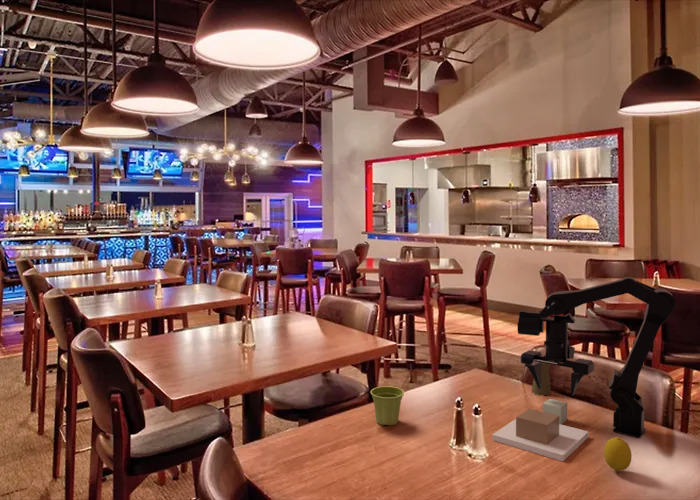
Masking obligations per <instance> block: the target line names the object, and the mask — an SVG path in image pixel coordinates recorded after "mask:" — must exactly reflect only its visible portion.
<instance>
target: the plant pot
mask: <svg viewBox="0 0 700 500" xmlns="http://www.w3.org/2000/svg"><path fill="white" fill-rule="evenodd" d="M404 394H405V391H404V389H402V388H400V387H395V386H389V385H386V386H378V387H374V388H372V389H371V390H370V395H371V396H372V399H373V404H374V412H375V420H376V423H377V424H379V425H381V426H384V425H388V426H394V425H396V424H398V422H399V417H400V411H401V410H400V409H401V405H402V404H401V403H402V399H403V396H404Z"/></svg>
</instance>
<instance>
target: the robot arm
mask: <svg viewBox="0 0 700 500" xmlns="http://www.w3.org/2000/svg"><path fill="white" fill-rule="evenodd" d="M626 294H629V295H631V296H632V297H634V298H635V299H638V300H640V301H641V302H643V303H645V304H646V305H645V306H646V307H645V312H644V313H645V314H644V318H643V322H642V324H641V326H640V329H639V330H638V333H637V336H636V338H635V340H634V343H633V345H632V347H631V349H630V352H629V354H628V355H627V358H626V361H625V363H624V366H622V368H621V369H620V370H617V369H616V368H614V370H613V375H612V377H611V379H610V380H608V389H609V395H610V396H609V397H610V399H611V400H612V401H613V402H614V403H615V404H616V406H615V410H614V411H613V419H612V421H613V424H612V426H613V427H614V428H613V430H612V431H613V432H615V433H619V434H623V435H628V436H630V437H635V438H641V437H642V435H644V434H645V432H646V431H647V429H646V428H645V412H646V411H645V408H644V403H643V398H642V397H641V395H640V394H638V393H637V388H638V383H639V381H638V380H639V376H640V373H641V370H642V369H643V366H644V364H645V361H646V359H647V357H648V355H649V353H650V350H651V348H652V347H653V346H652V345H653V344H654V341H655V338H656V336H657V334H658V333H659V330H660V328H661V326H662V325H664V323H665V322H666V321H667V320H668V318H669V317H670V315H671V314H672V313H673V311H674V310H675V308H676V304H677V303H676V301H677V300H676V299H675V298H674V296H673V294H672V293H671V292H670V291H669V290H667V289H665V288H657V289H656V288H655V287H652V286H650V285H647V284H646V283H643V282H641V281H639V280H636V279H635V278H633V277H632V276H625V277H623V278H621V279H616V280H613V281H609V282H605V283H602V284H601V283H600V284H598V285H594V286H590V287H586V288H582V289H579V290H577V289H574V290H559V291H554V292H552V293H550V294H549V295H548V296H547V297H546V299H545V304H544V307H543V308H541V309H540V311H527V310H523V309H522V310H520V311H519V315H518V322H517V327H516V328H517V334H518V335H525V336H526V335H527V336H537V337H538V336H540V335H541V333H542V334H543V333H544V331H545V341H543V346H545V355H543V354H542V352H541V351H538V350H537V351H535V350H530V349H529V350H526V351H525V352H523V353H522V354H521V355H520V364H524V367H526V368H528V371H529V372H530V374H531V375H532V377H533V380H535V382H536V384H537V386H538V389H541V384H542V381H541V366H542V363H547V364H550V365H554V366H557V367H558V366H560V367H564V368H565V367H566V368H569V369H570V368H571V369H572V371H573V372H571V373H570V396H573V397H574V395H575V393H576V391H577V389H578V386H579V384H580V381H581V380H582V378H583V377H585V376H587V375H590V374H591V373H593V372H594V371H595V364H594V362H593V360H592V359H586V358H585V359H584V358H577V359H575V360H572V359H574V357H575V350H576V348H575V347H574V346H572V345H570V340H569V338H568V336H569V335H568V334H569V333H568V331H569V330H568V329H569V328H568V326H569V324H574V323H575V321H576V319H575V318H574V317H573V316H572V314H571V313H569V311H572V310H574V309H575V308H578V307H579V306H582V305H585V304H589V303H594V302H598V301H601V300H605V299H610V298H613V297H618V296H622V295H626ZM564 313H567V314H566V315H562V314H564ZM552 315H554V316H553V317H551V316H552ZM570 359H571V360H570Z"/></svg>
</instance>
